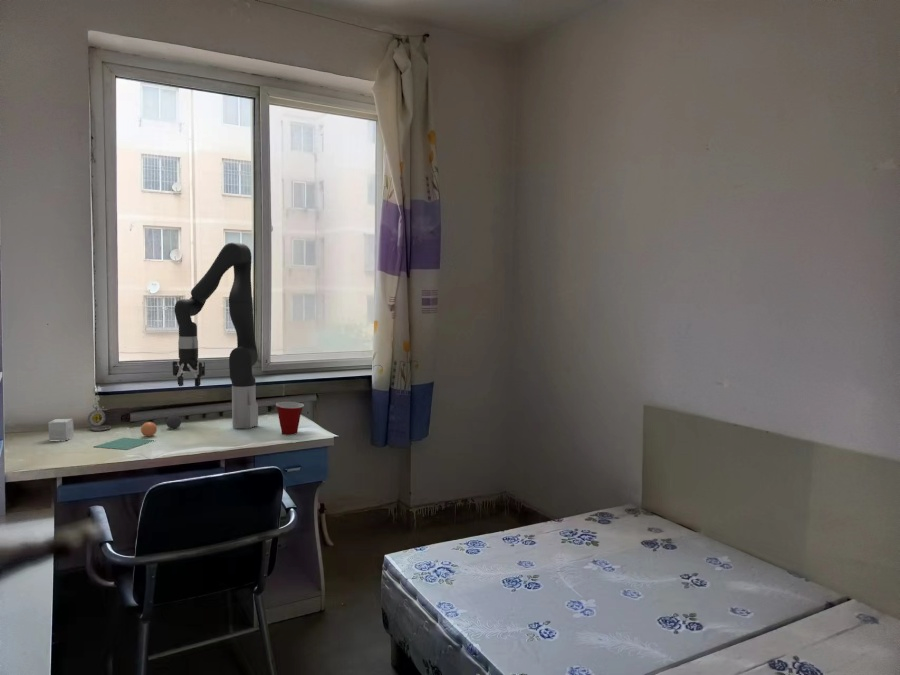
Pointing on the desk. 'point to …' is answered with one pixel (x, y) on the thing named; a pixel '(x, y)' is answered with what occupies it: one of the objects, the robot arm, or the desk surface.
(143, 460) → the desk surface
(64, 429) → the skincare box
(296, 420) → the plastic cup
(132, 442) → the green mark
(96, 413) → the pocket watch
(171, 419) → the black ball
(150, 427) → the terracotta ball
